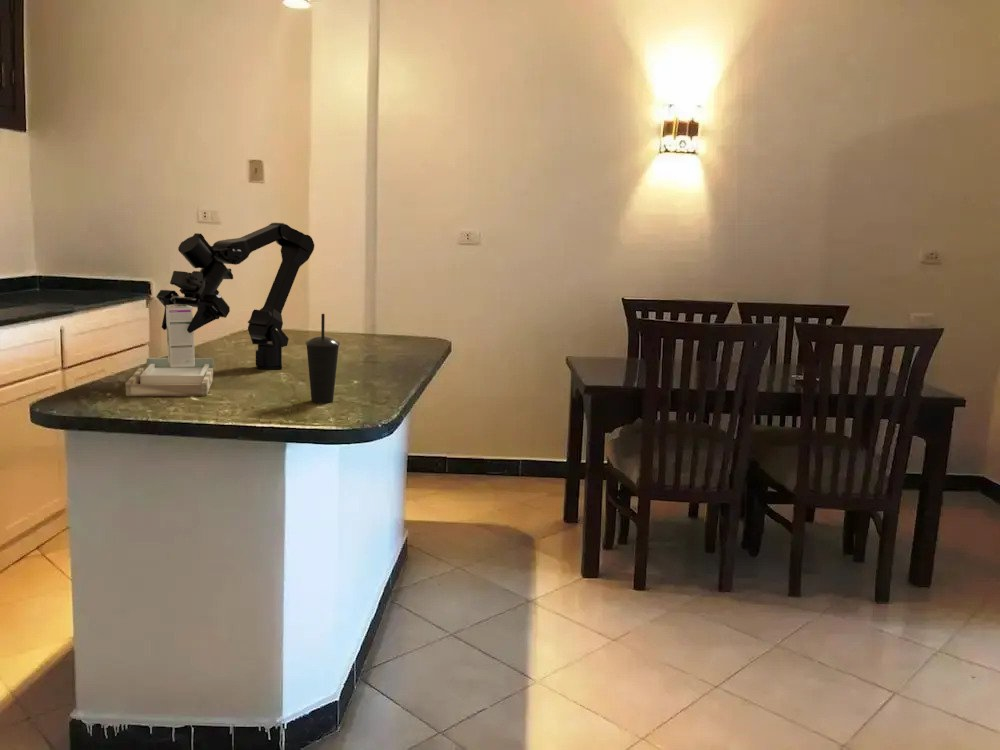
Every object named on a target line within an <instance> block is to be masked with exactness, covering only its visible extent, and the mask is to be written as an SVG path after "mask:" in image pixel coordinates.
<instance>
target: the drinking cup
mask: <svg viewBox="0 0 1000 750" xmlns="http://www.w3.org/2000/svg"><path fill="white" fill-rule="evenodd" d="M325 315H326V314H325V313H321V320H320V321H321V322H320V323H321V331H320V332H321V336H316V337H312V338H310V339H308V340H306V341H305V345H306V352H307V362H308V365H307V366H308V373H309V374H308V377H309V378H308V379H309V387H310V388H309V389H310V398H311V399H310V400H311V402H312V403H314V404H329V403H333V402H334V397H335V396H334V395H335V385H336V376H337V365H338V358H339V347H340V345H341V342H340V341H339V340H336V339H334V338H332V337H330V336H325V325H326V324H325V322H326V321H325V320H326V319H325Z"/></svg>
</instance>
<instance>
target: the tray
mask: <svg viewBox="0 0 1000 750" xmlns="http://www.w3.org/2000/svg"><path fill="white" fill-rule="evenodd" d="M214 361H215V360H214V358H212V357H199V358H198V357H196V358H195V366H194V367H170V365H169V363H168V357H146V368H145V370H144V372H143V373H142V374H141V375H140V384H202V381H203V379H204V377H205V375H206V373H207V371H208V369H209V368H213V372H214V370H215V367H214V366H215V363H214Z"/></svg>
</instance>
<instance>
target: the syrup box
mask: <svg viewBox="0 0 1000 750" xmlns="http://www.w3.org/2000/svg"><path fill="white" fill-rule="evenodd" d="M193 317H194V316H193V307H192V306H190V305H186V304H174V305H166V325H167V329H166V342H167V345H166V346H167V358H168V363H169V365H170V367H194V366H195V336H194V332H195V331H193V332H191V333H189V332H188V331H187V329H188V326H189V324H190V323H191V321H192V319H193Z"/></svg>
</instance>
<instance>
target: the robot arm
mask: <svg viewBox="0 0 1000 750" xmlns="http://www.w3.org/2000/svg"><path fill="white" fill-rule="evenodd" d="M274 242H276V244H277V245H279V246H280V256H281V263H280V266H279V267H278V271H277V272H276V275H275V277H274V280H273V283H272V285H271V287H270V290H269V293H268V295H267V297H266V299H265V302H264V305H263V306H262V307H261V308H260V309H255V308H254V309H253V311H252V313H251V316H250V317H249V318H250V319H249V320H248V321H247V323H248V326H247V331H248V335H249V336H250V340H251V343H252V345H257V349H256V350H255V366H256V368H257V369H258V370H282V369H283V360H282V359H283V354H282V352H283V351H282V349H283V348H284V347H287V346H288V343H289V337H288V336H287V335H286V334H285V332H284V331H283V330H282V329H283V325H284V323H283V315H282V312H283V309H284V307H285V305H286V302H287V299H288V297H289V295H290V292H291V291H292V290H291V289H292V287H293V285H294V282H295V279H296V278H297V275H298V272H299V270H300V267H301V266H303V265H304V264H305V263H306V262H307V261H308V260H309V259H310V257H311V256H312V254H313V253H314V250H315V241H314V240H313V237H312V236H310V235H309V234H305V233H303V232H302V231H299V230H298V229H295V228H293V227H291V226H290V225H288V224H287V223H284V222H271V223H269V224H268V225H267V226H265V227H262V228H259V229H257V230H255V231H252V232H251V233H248V234H246V235H243V236H241V237H237V238H236V237H235V238H226V239H222V240H217V241H215V242H214V243H213V244H212V245H211V244H210V243H208V241H207V240H206V239H205V237H204V235H203V234H202V233H195V232H194V234H193V235H191V236H189V237H188V238H186V239H184V240H183V241H181V242H180V244H179V246H178V249H177V250H178V252H179V254H181V255H182V256H183V258H184V259H185V260H186V261H187V262H188V263H189V264H190V265H191V266H192V267H193V269H200V270H193V271H192V272H187V271H179V270H173V272H172V275H171V278H170V282H169V284H171V285H173V286H175V287H177V288H179V292H180V293H181V294H182V295H183V296H180V295H179V294H178V292H177V291H175V290H173V289H172V290H170V289H160V290H159V292H158V293H157V294H156V297H155V298H156V299H158V301H159V302H160V304H161V305H163V307H164V311H163V312H164V313H163V318H162V322H161V323H162V324H161V329H162V330H163V331H165V330H166V331H167V325H166V305H174V304H186V305H190V306H191V307H192V308H196V309H197V310H196V312H195V314H194V316H193V319H192V321H191V323H190V324H189V326H188V329H187V331H188V332H189V333H191V332H195V331H197V330H198V329H200V328H202V327H204V326H206V325H208V324H210V323H212V322H214V321H216V320H219V319H220V318H223V319H224V318H225V319H226V318H227V317H228V316H229V313H230V311H231V310H230V305H229V304H228V303H227V302H226V301H225V299H224V298H223V297H222V296H221V294H220V291H219V290H218V288H219V287H220V285H221V284H222V282H223V280H234V275H233V271H232V269H231V268H228V267H227V266H226V265H234V266H236V265H240V264H241V263H243V262H244V261H245V260H247V259H248V258H249V256H250V254H251V253H253V252H255V251H257V250H259V249H262V248H264V247H266V246H268V245H270V244H272V243H274Z"/></svg>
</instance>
